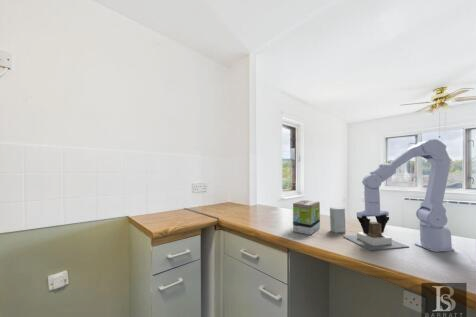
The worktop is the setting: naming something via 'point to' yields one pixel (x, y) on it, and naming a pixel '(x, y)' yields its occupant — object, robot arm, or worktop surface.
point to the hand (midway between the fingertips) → (373, 232)
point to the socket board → (375, 242)
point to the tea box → (306, 216)
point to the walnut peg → (375, 230)
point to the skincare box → (337, 219)
